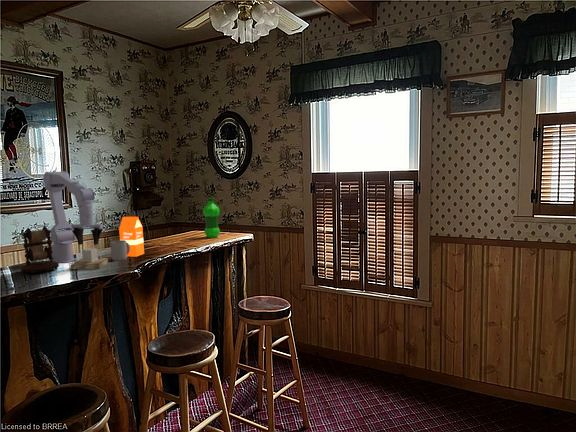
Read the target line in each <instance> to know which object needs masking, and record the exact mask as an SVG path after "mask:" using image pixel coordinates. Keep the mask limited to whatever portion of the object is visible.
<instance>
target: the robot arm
mask: <svg viewBox="0 0 576 432" xmlns="http://www.w3.org/2000/svg"><path fill="white" fill-rule="evenodd" d="M42 180H43V186H44V189H45V190H46V191H48V197H49V201H50V205H51V210H52V215H53V220H54V225H53V226H52V227H51V229H49V230H50V231H51V233H50V234H51V235H50V237H51V239H50V240H52V244H51V247H52V249H51V250H52V251H53V253H52V257H53V260H52V261H55V262H57V263H59V264H61V263H64V264H65V263H70V262H73V261H76V260H77V261H78V258H76V257H75V258H74V250H73V243H74V241H75V240H77V242H78V245H79V246H81V245H84V230H88V229H89V230H90V232H91V234H92V238H93V245H94V246H96V245H99V240H100V237H101V234H102V231H103V229H104V225H103V224H100V223H94V222H95V221H94V212H93V211H94V210H93V209H94V208H93V201H94V199H95V192H94V190H93V189H92V188H91V187H90V188H86V187H85V186H84V185H82V184H81V183H80V182H79V180H78V181H74V180H73V179H72V178H71V177H70V174H69V172H67V171H46V172H44V173H43V177H42ZM66 187H67V190H68V191H69V193H70V194H71V195H72V196H74V197H75V198H74V199H75V200H76V205H77V206H78V214H79V215H78V217H79V224H77V223H76V224H70V223H68V222H67V217H66V213H65V212H66V211H65V207H64V204H63V198H62V194H61V192H62V190H65V188H66Z"/></svg>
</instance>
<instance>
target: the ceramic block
mask: <svg viewBox="0 0 576 432" xmlns="http://www.w3.org/2000/svg"><path fill="white" fill-rule="evenodd" d="M81 253H82V259H83V262H94V261H97V260H98V258H99V256H98V248H89V247H88V248H85V249H82V251H81Z"/></svg>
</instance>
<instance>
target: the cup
mask: <svg viewBox="0 0 576 432" xmlns="http://www.w3.org/2000/svg"><path fill="white" fill-rule="evenodd" d="M126 247H127V249H126ZM129 252H130V245H129V244H128V243H127V242H126V241H125V240H120V239H118V240H111V241H110V254H111V256H110V257H111V260H112V261H116V262H117V261H125V260H127V259H128V256H127V255H128V254H129Z"/></svg>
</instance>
